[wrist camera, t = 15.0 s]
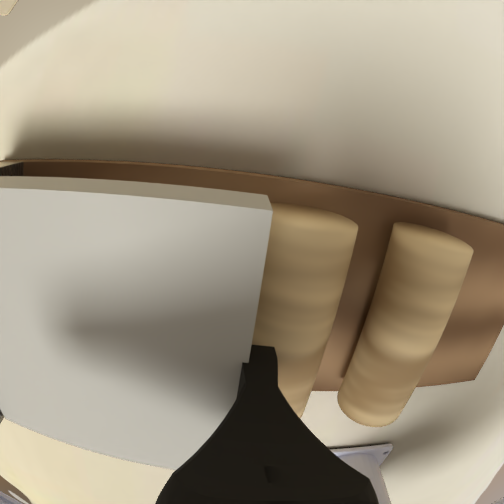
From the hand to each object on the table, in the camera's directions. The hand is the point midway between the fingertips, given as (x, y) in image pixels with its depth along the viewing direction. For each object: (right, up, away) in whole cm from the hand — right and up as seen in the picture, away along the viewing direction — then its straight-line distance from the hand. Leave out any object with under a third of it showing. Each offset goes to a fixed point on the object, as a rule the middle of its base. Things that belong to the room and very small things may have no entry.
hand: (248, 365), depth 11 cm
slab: (-6, +1, 0) cm, 6 cm away
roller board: (+2, +2, +6) cm, 6 cm away
